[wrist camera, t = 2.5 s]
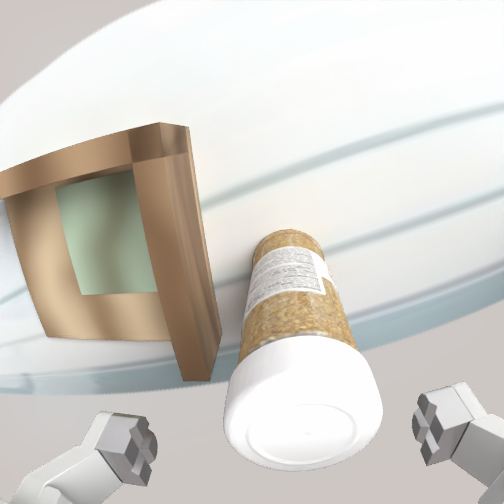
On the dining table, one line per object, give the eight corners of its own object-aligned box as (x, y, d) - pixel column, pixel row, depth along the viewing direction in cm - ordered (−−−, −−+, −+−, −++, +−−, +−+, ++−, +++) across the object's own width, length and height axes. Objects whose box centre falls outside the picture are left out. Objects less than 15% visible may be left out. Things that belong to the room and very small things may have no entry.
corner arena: (188, 126, 18) (159, 122, 13) (222, 333, 22) (209, 381, 17) (7, 177, 19) (-38, 189, 14) (51, 332, 24) (20, 364, 19)
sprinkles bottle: (323, 292, 21) (370, 468, 8) (254, 295, 21) (231, 477, 8) (323, 224, 19) (401, 369, 7) (249, 228, 20) (207, 381, 7)
